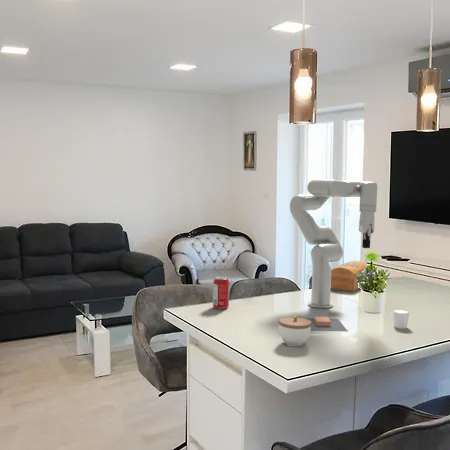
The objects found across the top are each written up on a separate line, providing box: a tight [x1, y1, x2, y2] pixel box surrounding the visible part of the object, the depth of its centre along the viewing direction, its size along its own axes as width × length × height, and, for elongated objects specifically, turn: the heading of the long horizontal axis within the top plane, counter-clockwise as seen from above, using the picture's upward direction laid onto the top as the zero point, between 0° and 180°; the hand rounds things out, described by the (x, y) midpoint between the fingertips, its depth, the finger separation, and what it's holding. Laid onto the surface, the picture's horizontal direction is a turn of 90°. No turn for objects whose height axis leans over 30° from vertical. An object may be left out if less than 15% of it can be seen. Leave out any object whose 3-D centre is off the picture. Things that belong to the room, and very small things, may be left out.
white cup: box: [393, 309, 410, 329], centre depth 248 cm, size 7×7×7 cm
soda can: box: [212, 276, 230, 310], centre depth 274 cm, size 8×8×15 cm
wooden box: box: [331, 260, 367, 293], centre depth 335 cm, size 30×16×14 cm, turn 151°
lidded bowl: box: [278, 315, 311, 348], centre depth 219 cm, size 13×13×11 cm
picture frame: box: [313, 316, 331, 326], centre depth 247 cm, size 2×6×8 cm
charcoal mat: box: [303, 317, 348, 332], centre depth 247 cm, size 20×18×1 cm
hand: (366, 247), depth 260 cm, fingers closed
